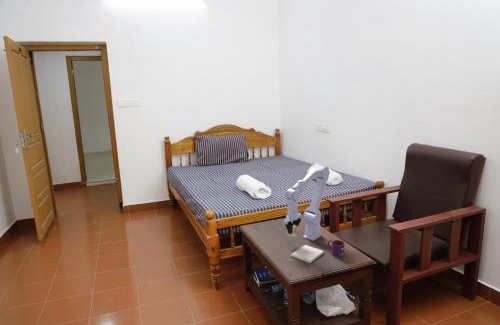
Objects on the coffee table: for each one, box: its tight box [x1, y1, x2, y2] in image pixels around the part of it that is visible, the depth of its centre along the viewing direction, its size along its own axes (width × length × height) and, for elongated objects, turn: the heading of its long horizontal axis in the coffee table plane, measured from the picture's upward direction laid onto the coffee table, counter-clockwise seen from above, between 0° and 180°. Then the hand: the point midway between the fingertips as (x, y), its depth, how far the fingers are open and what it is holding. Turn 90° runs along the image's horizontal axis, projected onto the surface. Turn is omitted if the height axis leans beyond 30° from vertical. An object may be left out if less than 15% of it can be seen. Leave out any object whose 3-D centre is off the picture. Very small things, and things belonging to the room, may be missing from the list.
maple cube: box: [286, 225, 300, 238], centre depth 193 cm, size 5×5×5 cm
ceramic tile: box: [290, 244, 325, 264], centre depth 184 cm, size 14×12×1 cm
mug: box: [327, 239, 346, 258], centre depth 184 cm, size 7×10×7 cm
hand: (292, 232), depth 193 cm, fingers closed on maple cube, 5 cm apart
